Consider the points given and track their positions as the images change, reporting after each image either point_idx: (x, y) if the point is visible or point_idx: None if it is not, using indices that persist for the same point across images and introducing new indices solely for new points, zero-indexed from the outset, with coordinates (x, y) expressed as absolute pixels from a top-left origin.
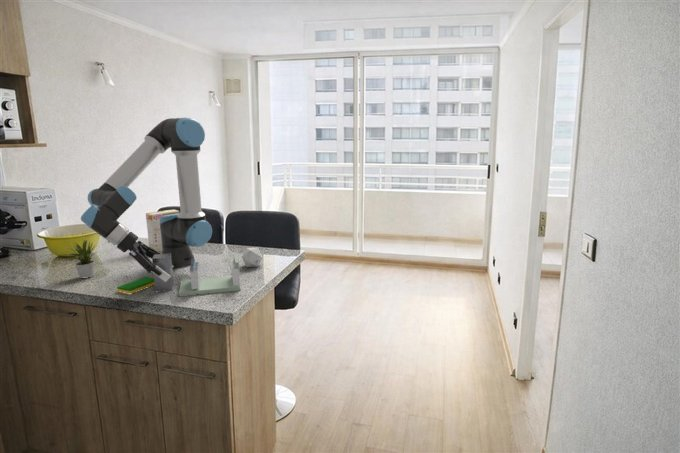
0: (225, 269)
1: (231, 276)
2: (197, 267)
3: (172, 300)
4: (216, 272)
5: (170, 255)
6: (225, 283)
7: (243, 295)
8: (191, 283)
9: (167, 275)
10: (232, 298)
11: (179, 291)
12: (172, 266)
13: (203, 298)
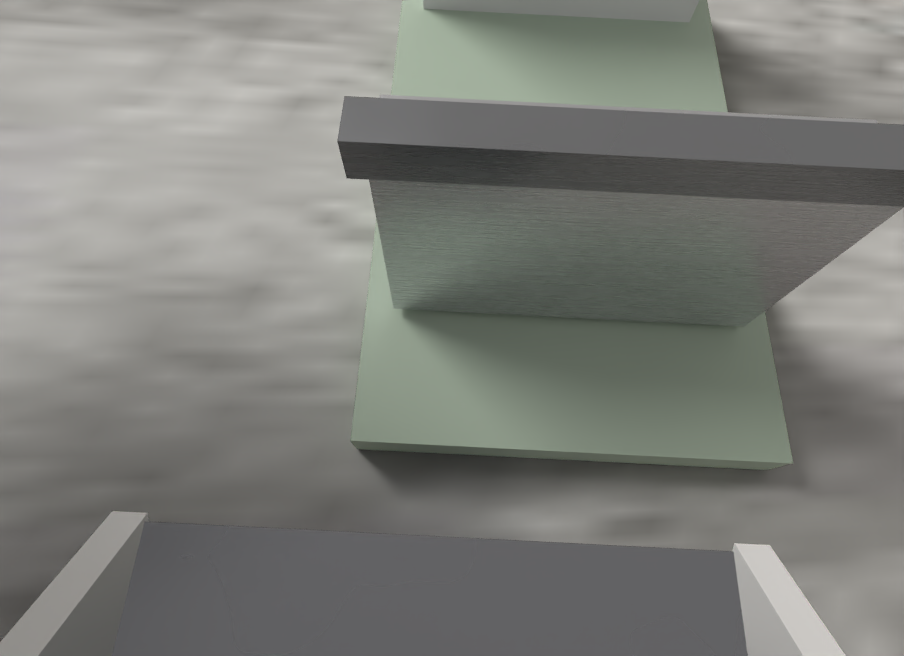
0: (72, 58)
1: (413, 12)
2: (687, 113)
3: (880, 537)
4: (120, 126)
5: (313, 530)
6: (596, 63)
7: (804, 9)
8: (782, 292)
9: (798, 604)
10: (861, 71)
11: (756, 455)
12: (139, 539)
13: (844, 254)
